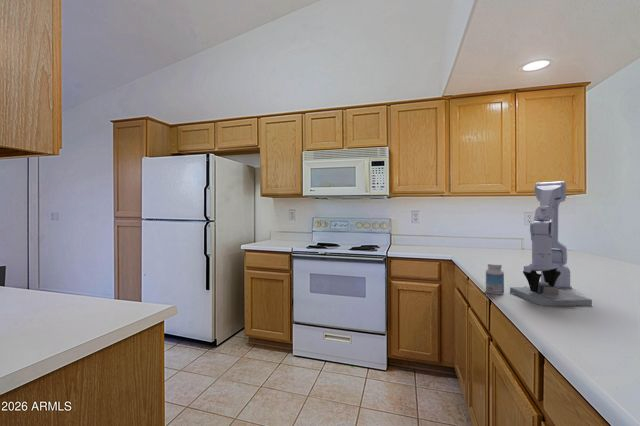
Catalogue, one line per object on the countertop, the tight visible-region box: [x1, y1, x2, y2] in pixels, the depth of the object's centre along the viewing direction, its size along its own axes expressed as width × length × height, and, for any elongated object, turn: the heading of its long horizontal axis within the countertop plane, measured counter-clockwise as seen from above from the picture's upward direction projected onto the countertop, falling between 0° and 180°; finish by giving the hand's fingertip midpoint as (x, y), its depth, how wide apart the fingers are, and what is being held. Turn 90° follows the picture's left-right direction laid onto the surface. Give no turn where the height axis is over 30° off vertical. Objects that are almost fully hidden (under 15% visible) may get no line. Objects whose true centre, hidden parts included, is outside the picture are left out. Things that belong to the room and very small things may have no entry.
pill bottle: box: [485, 262, 505, 295], centre depth 114 cm, size 6×6×11 cm
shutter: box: [541, 286, 575, 301], centre depth 100 cm, size 6×6×3 cm
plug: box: [535, 280, 551, 295], centre depth 107 cm, size 4×4×6 cm
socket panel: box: [509, 286, 593, 307], centre depth 106 cm, size 17×16×2 cm
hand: (541, 290), depth 107 cm, fingers open, 7 cm apart
